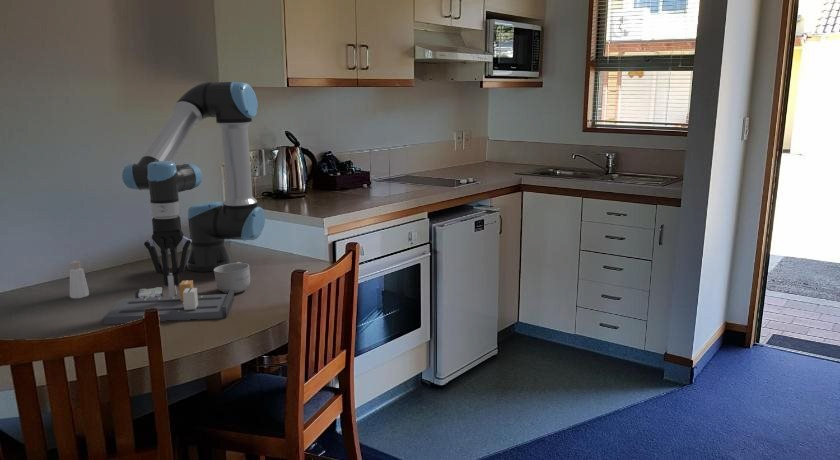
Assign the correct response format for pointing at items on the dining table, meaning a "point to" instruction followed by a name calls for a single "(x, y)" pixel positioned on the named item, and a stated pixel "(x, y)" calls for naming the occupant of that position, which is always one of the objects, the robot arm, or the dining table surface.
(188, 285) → the fader orange
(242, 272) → the teacup
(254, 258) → the dining table surface
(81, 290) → the salt shaker
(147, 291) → the smartphone
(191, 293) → the fader ivory
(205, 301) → the console
